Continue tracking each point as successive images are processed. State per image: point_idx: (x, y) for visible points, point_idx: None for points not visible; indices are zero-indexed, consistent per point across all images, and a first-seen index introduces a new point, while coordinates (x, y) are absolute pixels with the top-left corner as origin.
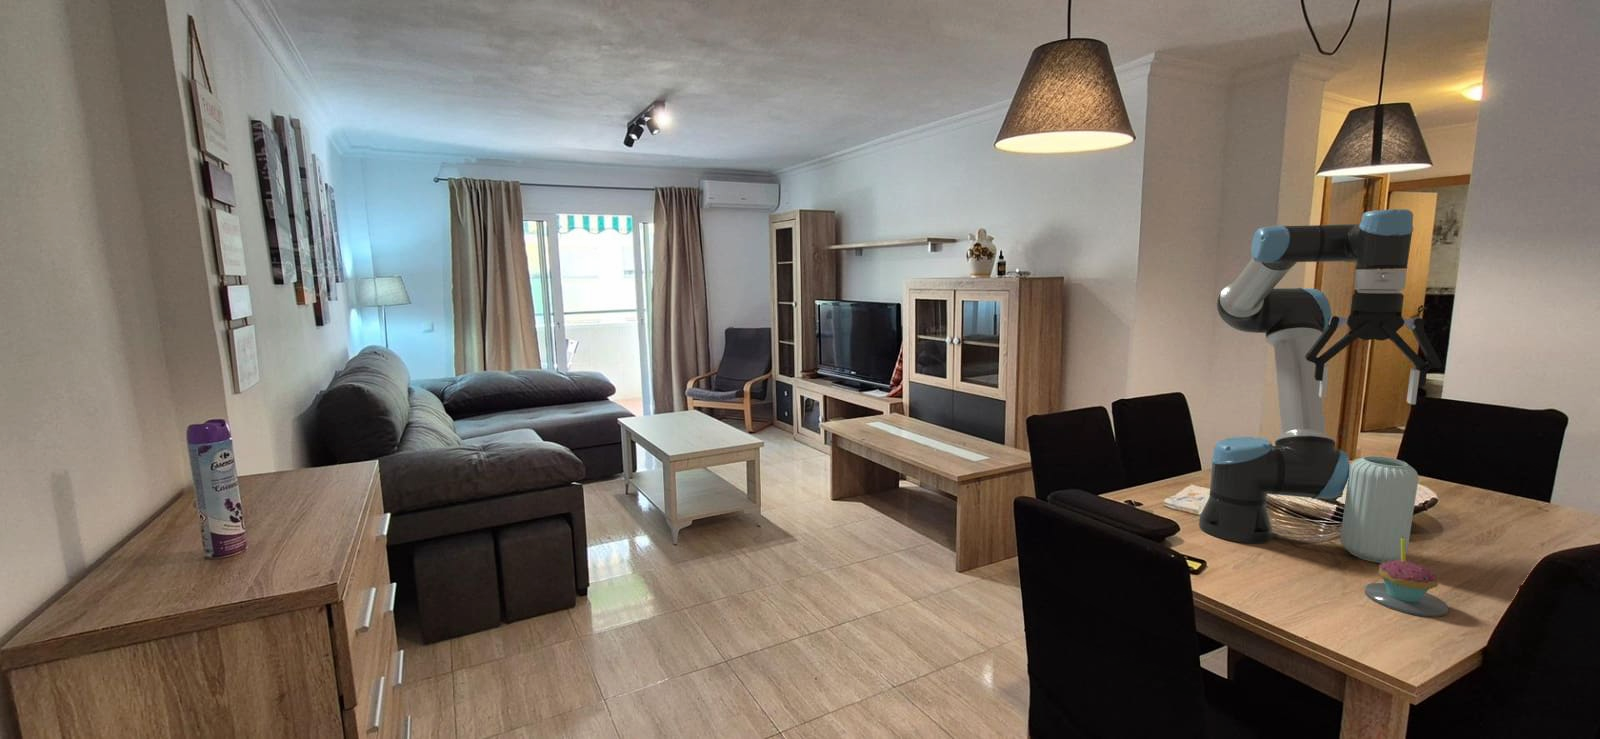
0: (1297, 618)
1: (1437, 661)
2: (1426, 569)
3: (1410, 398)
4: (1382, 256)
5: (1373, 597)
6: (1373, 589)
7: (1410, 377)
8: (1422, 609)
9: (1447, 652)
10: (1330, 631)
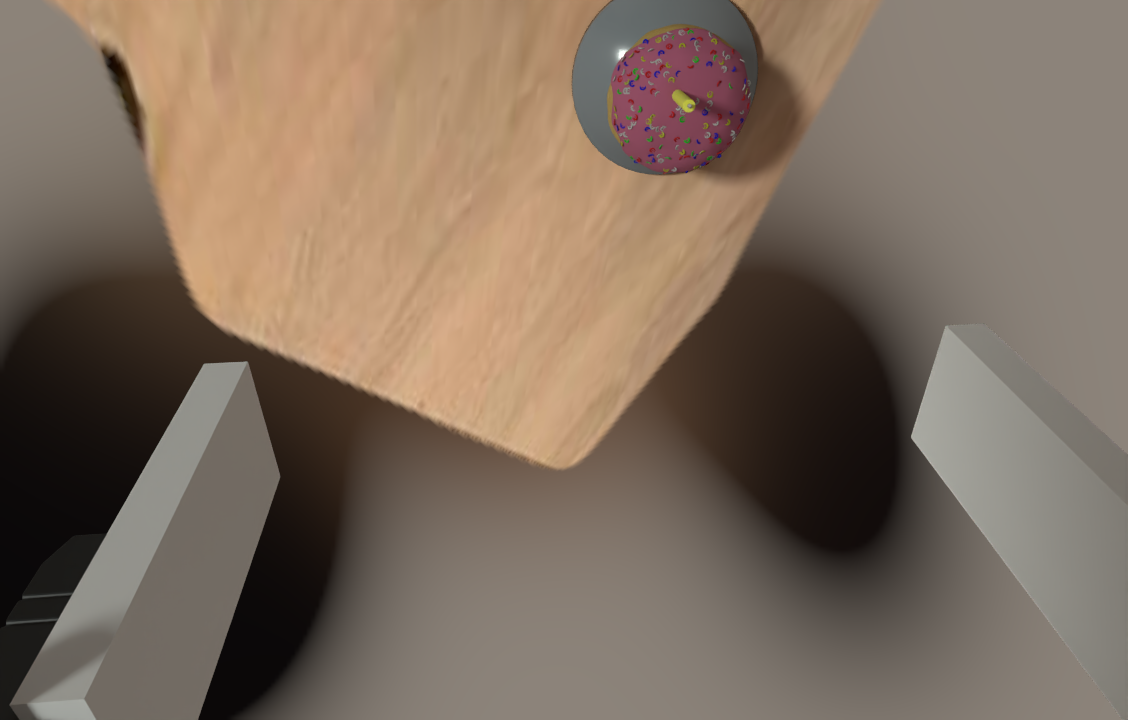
0: (404, 333)
1: (635, 379)
2: (726, 120)
3: (940, 456)
4: None
5: (583, 128)
6: (594, 68)
7: (1110, 540)
8: None
9: (666, 333)
10: (466, 359)
